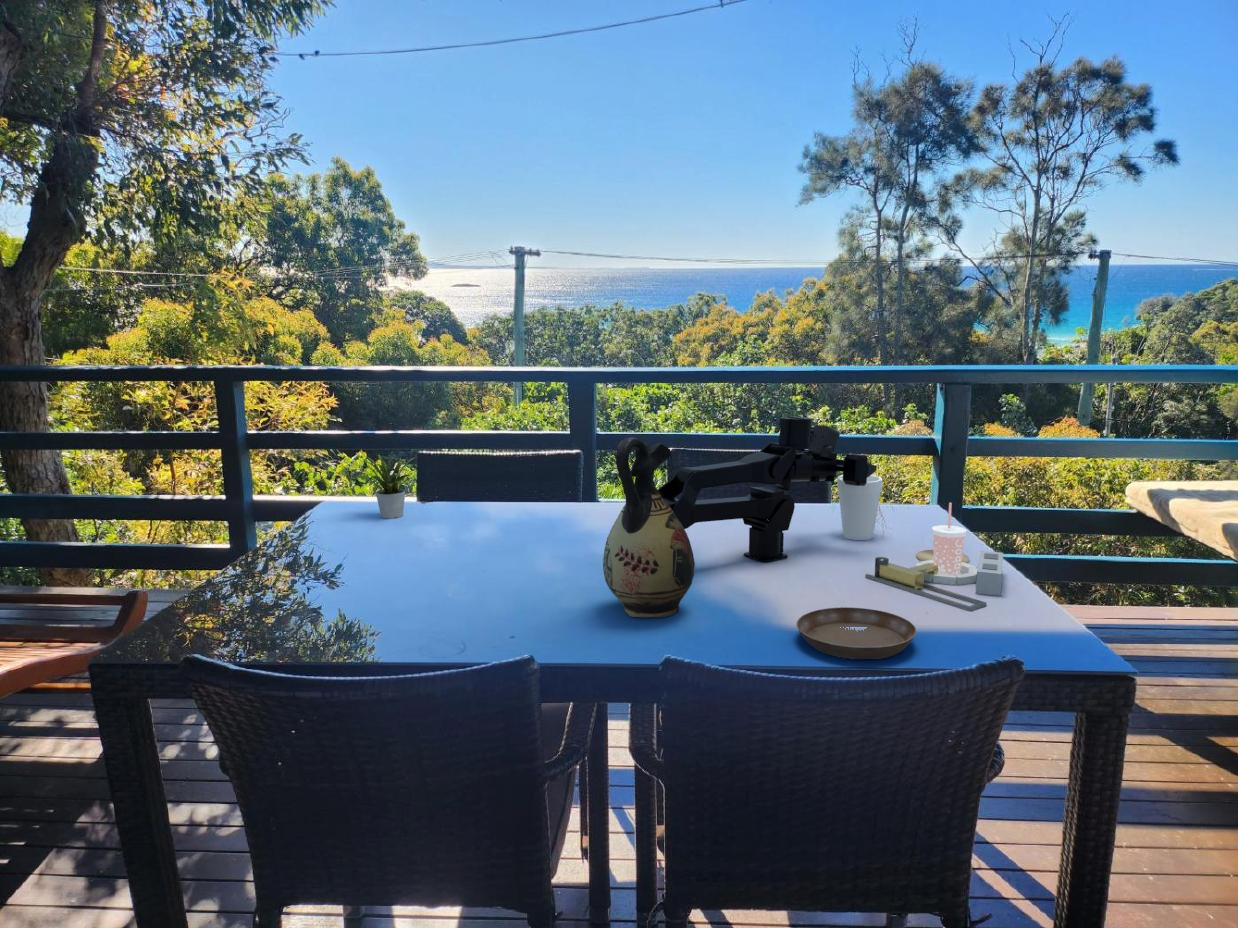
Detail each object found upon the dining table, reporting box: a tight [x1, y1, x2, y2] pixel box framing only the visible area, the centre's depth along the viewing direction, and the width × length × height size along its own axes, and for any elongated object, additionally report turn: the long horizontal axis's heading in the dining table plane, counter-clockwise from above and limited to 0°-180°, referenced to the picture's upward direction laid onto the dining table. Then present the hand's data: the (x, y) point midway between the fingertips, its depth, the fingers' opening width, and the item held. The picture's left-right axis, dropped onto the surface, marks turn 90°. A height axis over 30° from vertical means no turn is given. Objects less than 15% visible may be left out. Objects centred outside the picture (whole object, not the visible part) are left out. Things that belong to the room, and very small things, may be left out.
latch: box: [874, 556, 938, 590], centre depth 167 cm, size 8×10×3 cm
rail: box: [864, 573, 987, 612], centre depth 161 cm, size 4×23×1 cm, turn 33°
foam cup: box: [836, 474, 883, 541], centre depth 197 cm, size 10×9×13 cm
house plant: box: [360, 452, 417, 519], centre depth 221 cm, size 14×14×16 cm
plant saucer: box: [796, 606, 917, 660], centre depth 138 cm, size 18×18×3 cm
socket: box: [915, 550, 1004, 597], centre depth 167 cm, size 15×14×4 cm
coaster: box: [915, 549, 970, 564], centre depth 181 cm, size 10×10×1 cm
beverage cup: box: [931, 502, 967, 575], centre depth 169 cm, size 6×6×14 cm
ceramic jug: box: [602, 436, 696, 618], centre depth 151 cm, size 17×15×30 cm
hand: (859, 466), depth 193 cm, fingers open, 9 cm apart
